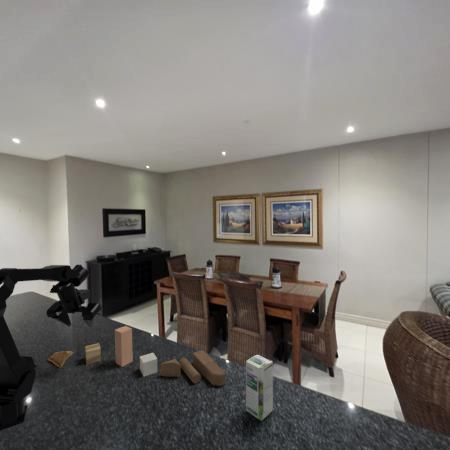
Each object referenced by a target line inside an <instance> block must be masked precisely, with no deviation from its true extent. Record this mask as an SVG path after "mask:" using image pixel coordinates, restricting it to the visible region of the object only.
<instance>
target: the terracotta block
mask: <svg viewBox="0 0 450 450" xmlns="http://www.w3.org/2000/svg"><path fill="white" fill-rule="evenodd" d="M114 344H115V345H114V349H115V354H114V357H115V359H114V360H115V364H117V366H119V367H121V368H123V367H125V366H127V365H128V364H130V363H133V328H132V327H129V326H128V325H124V326H122V327H119V328H116V329H114Z"/></svg>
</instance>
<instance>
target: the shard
mask: <svg viewBox="0 0 450 450" xmlns="http://www.w3.org/2000/svg"><path fill="white" fill-rule="evenodd" d="M72 355H73V351H70V350H64V351H61V350H60V351H56V352H54V354H53V355H51V356H50V357H48V358H47V361H48V362H52V364H53V365H55V366H56V367H58V368H60V369H61V368H62V367H63V365H65V363H66V361H67V360H68V359H69V358H70V357H71V356H72Z"/></svg>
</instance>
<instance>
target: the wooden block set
mask: <svg viewBox="0 0 450 450" xmlns="http://www.w3.org/2000/svg"><path fill="white" fill-rule="evenodd" d="M181 370H183V372H184V373H185V374H186V376H187V377H188V379H190V381H191V382H192V383H193V384H194V385H195V384H199V382H200V381H201V380H202V376H203V377H204V378H205V379H206V380H207V381H208V382H209V384H211V385H212V386H216V387H217V386H218V387H222V386H224V385H226V383H227V382H226V380H227V379H226V378H227V376H226V372H225V371H224V370H223V369H222V368H221V367H220V366H219V365H218V364H216V362H215V360H214V359H213V358H212V357H211V356H210V355H209V354H208V353H207V352H205V351H204V350H202V349H201V350H199V351H195V352H193V353H192V363H191V362H190V361H189V360H188V359H187V358H186V357H182V358H180V360H179V361H178V360H177V359H176V358H173V359H170V360H167V361H164V362H161V363H160V376H161V377H169V378H170V377H171V378H181V376H182V375H181V374H182V373H181V372H182V371H181Z"/></svg>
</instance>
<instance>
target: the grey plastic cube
mask: <svg viewBox="0 0 450 450" xmlns="http://www.w3.org/2000/svg"><path fill="white" fill-rule="evenodd" d="M139 371H140V372H141V375H142V376H143V377H148V376H149V375H153V374H155V373H158V372H159V371H158V358H157V356H156V355H155V353H154V352H151V353H147V354H144V355H140V356H139Z"/></svg>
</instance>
